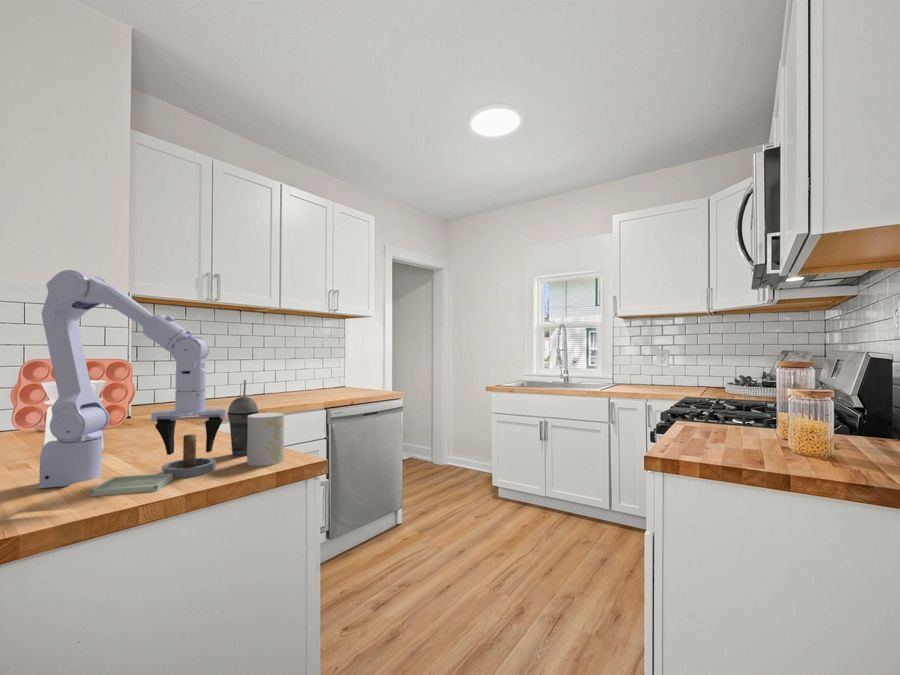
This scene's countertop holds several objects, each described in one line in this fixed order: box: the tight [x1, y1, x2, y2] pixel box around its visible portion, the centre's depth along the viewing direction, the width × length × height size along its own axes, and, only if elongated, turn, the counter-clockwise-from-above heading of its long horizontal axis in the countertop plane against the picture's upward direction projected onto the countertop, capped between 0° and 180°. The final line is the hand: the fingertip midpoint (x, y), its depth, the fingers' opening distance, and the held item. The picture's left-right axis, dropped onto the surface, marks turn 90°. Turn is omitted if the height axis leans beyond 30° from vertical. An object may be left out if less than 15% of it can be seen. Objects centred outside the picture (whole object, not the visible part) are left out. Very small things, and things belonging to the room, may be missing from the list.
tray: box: [89, 473, 174, 497], centre depth 86 cm, size 11×9×2 cm
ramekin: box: [160, 457, 217, 480], centre depth 96 cm, size 10×10×3 cm
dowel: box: [182, 433, 197, 468], centre depth 97 cm, size 2×2×8 cm
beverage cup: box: [227, 379, 259, 457], centre depth 113 cm, size 7×7×20 cm
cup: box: [246, 412, 285, 467], centre depth 105 cm, size 8×8×12 cm
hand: (189, 452), depth 97 cm, fingers open, 7 cm apart
